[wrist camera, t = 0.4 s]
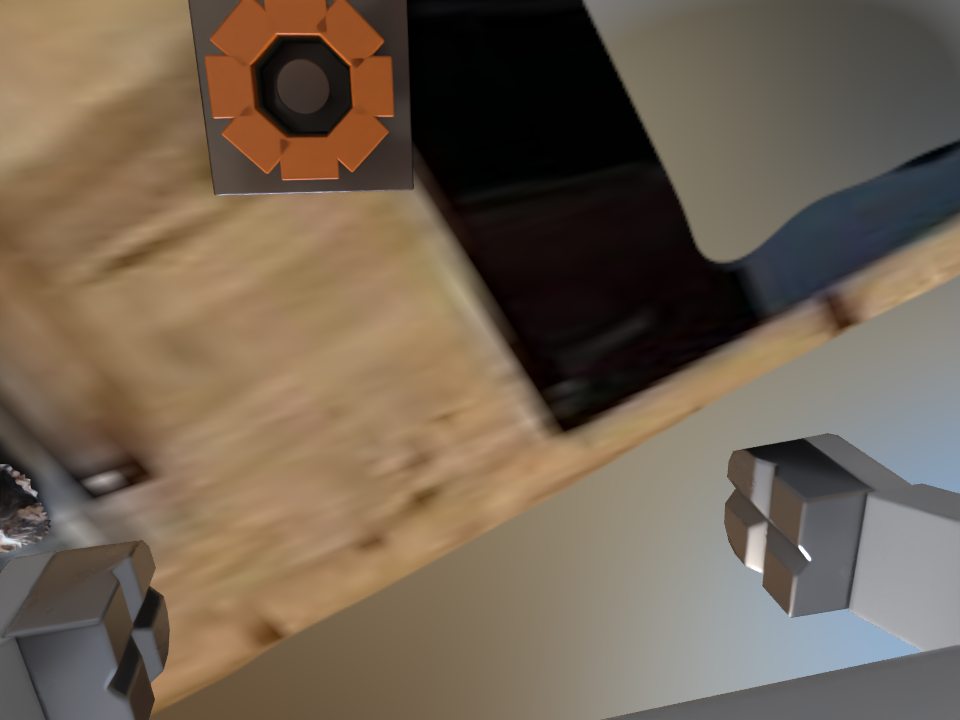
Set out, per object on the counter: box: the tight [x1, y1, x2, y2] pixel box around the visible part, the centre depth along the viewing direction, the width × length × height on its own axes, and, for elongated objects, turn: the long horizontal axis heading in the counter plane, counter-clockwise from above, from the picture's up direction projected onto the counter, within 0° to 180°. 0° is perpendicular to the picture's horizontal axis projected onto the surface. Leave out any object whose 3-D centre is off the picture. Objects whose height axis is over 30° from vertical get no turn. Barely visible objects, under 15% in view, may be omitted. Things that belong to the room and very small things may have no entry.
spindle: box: [188, 0, 414, 195], centre depth 30 cm, size 9×9×6 cm
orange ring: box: [204, 0, 395, 180], centre depth 27 cm, size 7×7×2 cm
